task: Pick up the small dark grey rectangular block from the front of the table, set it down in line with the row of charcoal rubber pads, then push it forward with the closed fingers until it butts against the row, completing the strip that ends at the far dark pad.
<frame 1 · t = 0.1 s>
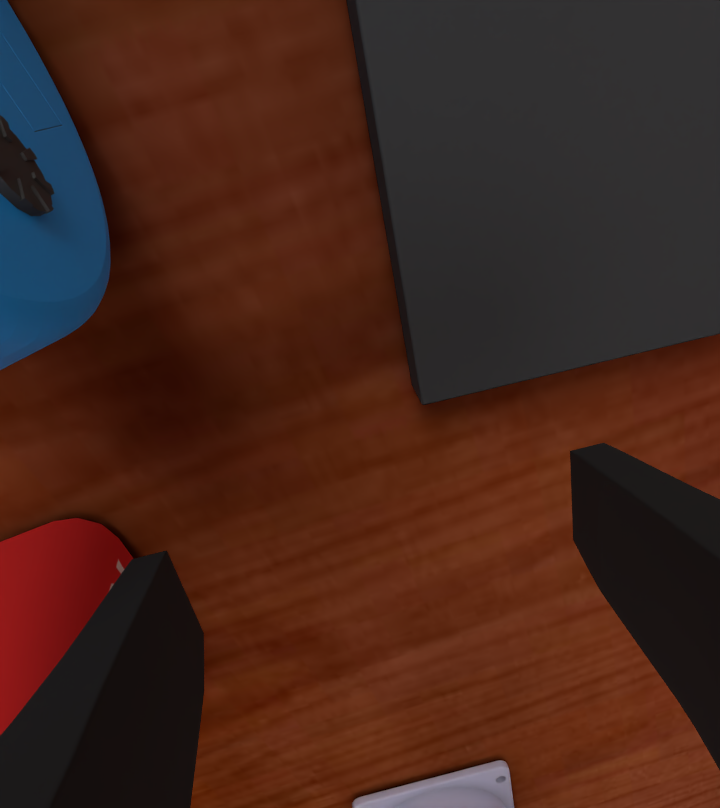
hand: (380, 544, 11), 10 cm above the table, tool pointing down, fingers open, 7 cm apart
base pad: (559, 91, 18), on the table
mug: (27, 579, 23), on the table
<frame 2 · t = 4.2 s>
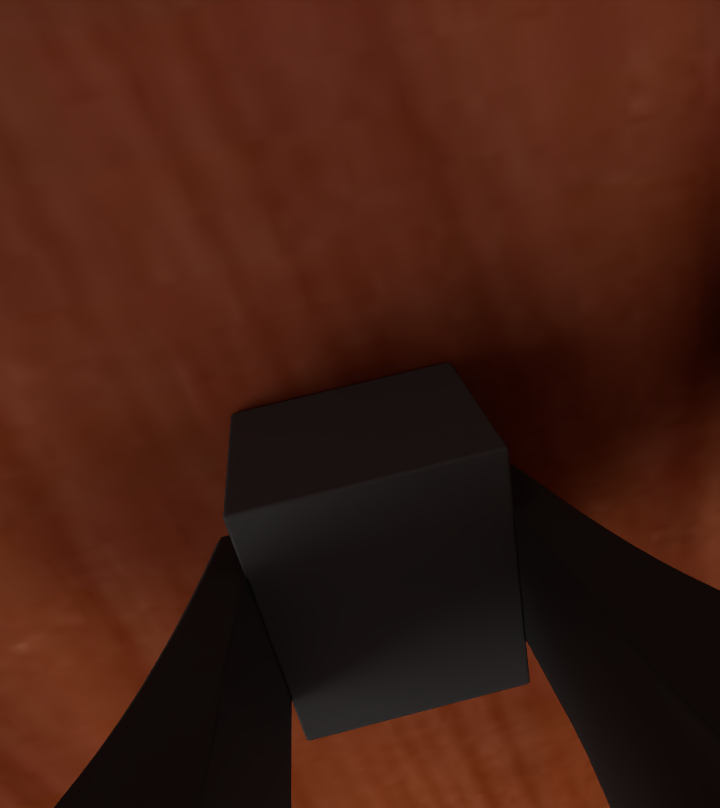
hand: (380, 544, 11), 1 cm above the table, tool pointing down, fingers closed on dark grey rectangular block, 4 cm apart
dark grey rectangular block: (366, 497, 12), on the table, touching gripper
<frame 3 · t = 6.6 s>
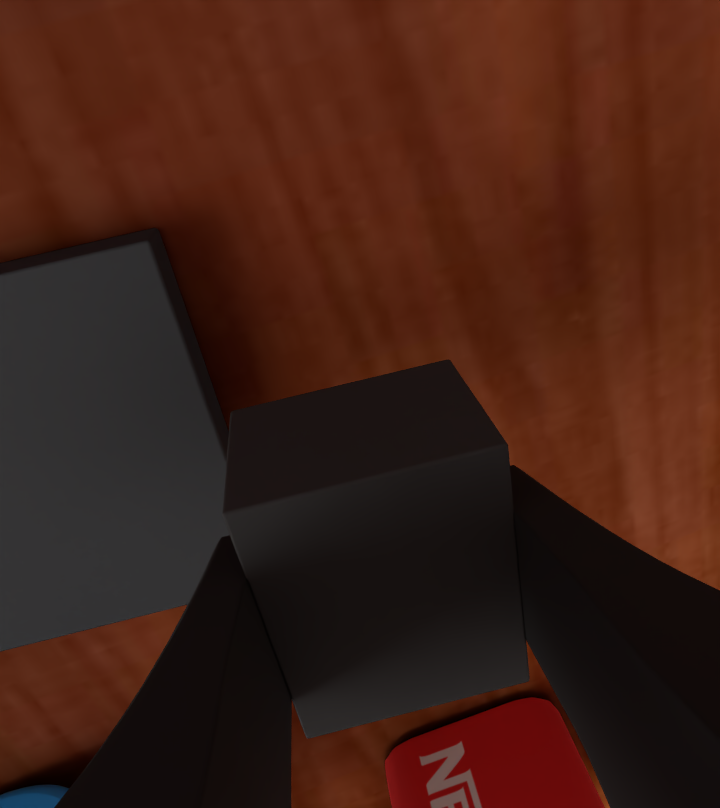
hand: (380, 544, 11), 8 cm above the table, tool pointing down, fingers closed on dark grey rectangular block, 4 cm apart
dark grey rectangular block: (366, 495, 12), point 7 cm above the table, touching gripper
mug: (443, 777, 28), on the table
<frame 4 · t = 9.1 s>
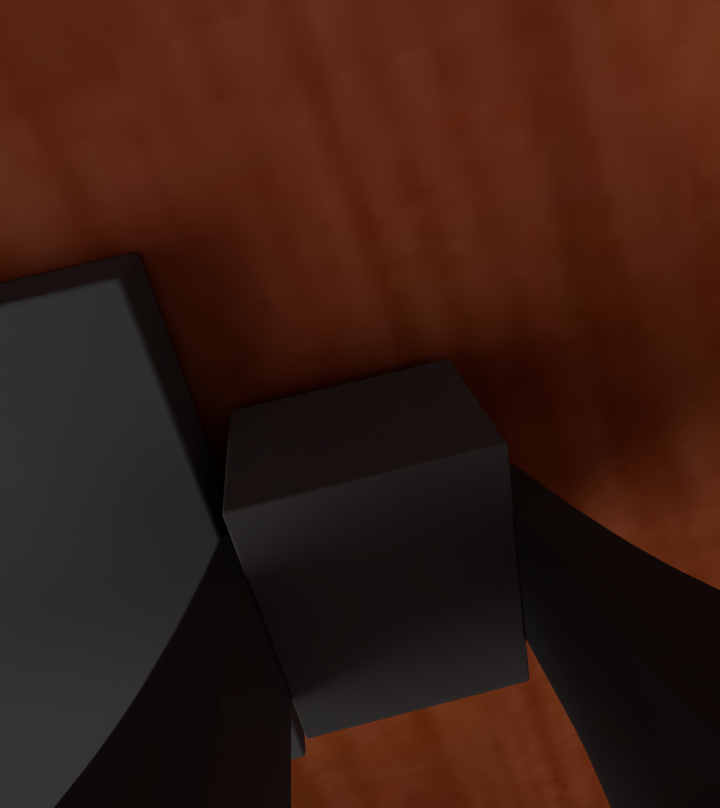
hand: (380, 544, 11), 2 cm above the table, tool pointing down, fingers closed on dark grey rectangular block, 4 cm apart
dark grey rectangular block: (366, 495, 12), on the table, touching gripper
when the fingers open (2 cm above the table, at t = 13.0 s): dark grey rectangular block stays where it is, on the table.
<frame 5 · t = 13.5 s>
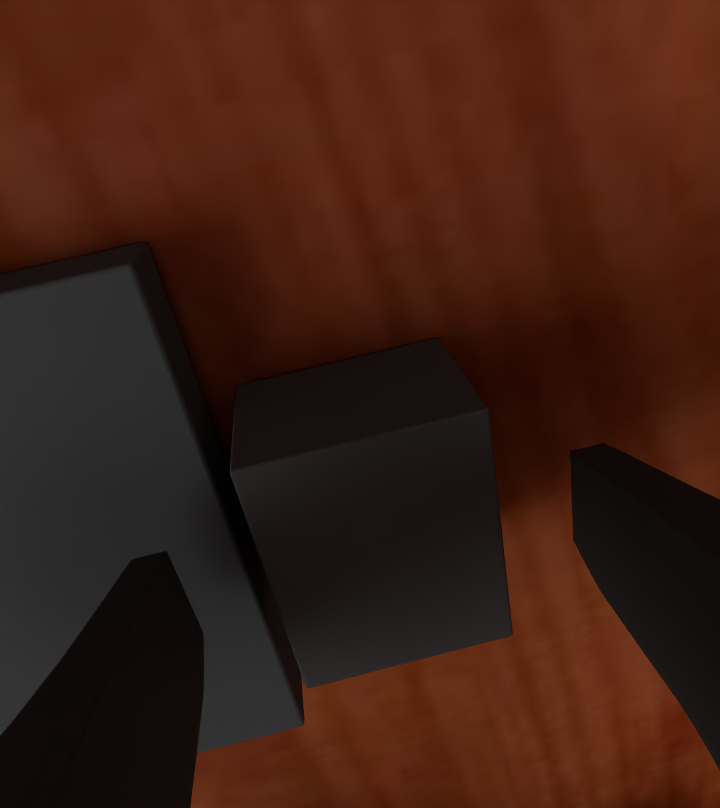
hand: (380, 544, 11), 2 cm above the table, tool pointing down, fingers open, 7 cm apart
dark grey rectangular block: (361, 467, 13), on the table
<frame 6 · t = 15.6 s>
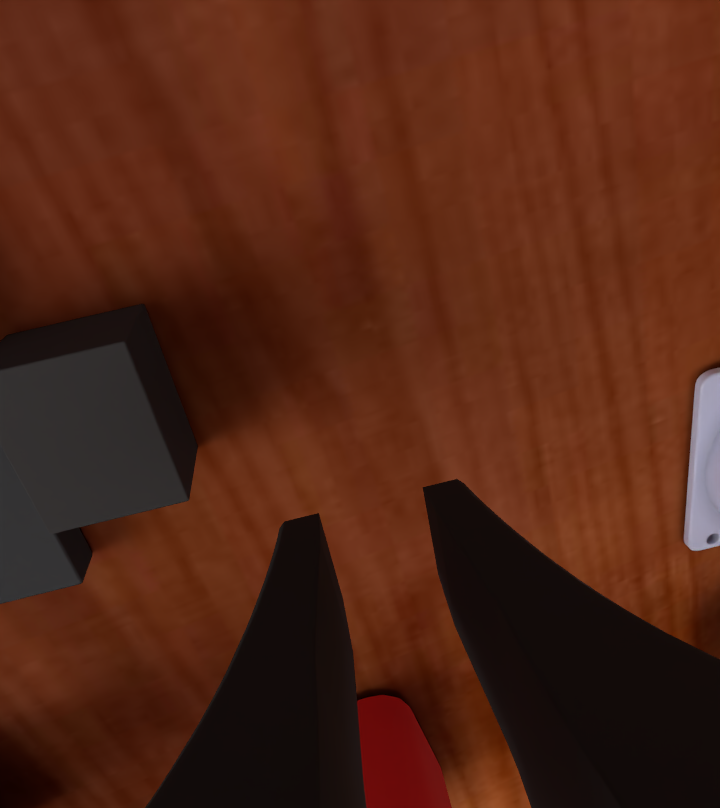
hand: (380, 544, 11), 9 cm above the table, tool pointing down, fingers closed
dark grey rectangular block: (108, 394, 19), on the table
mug: (306, 774, 29), on the table
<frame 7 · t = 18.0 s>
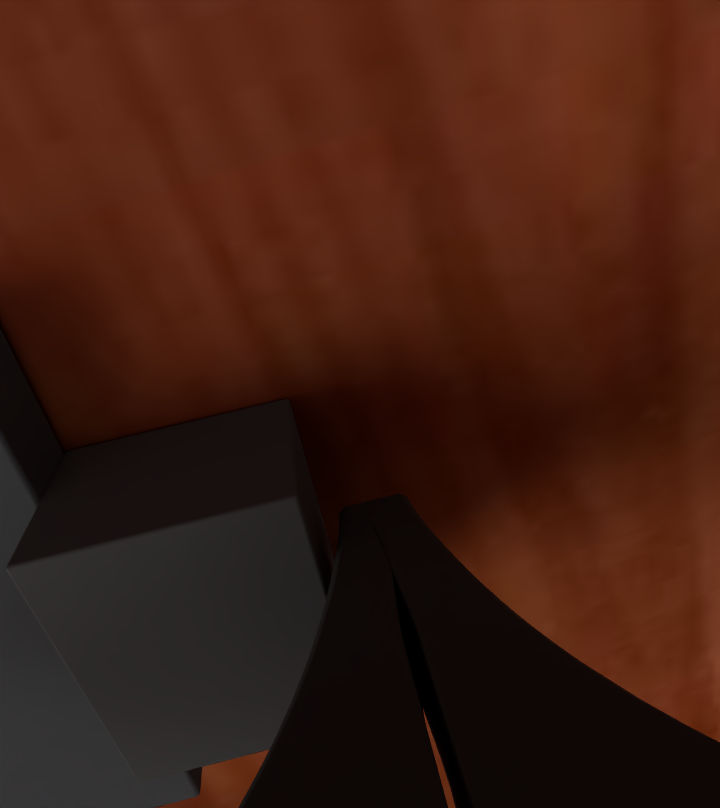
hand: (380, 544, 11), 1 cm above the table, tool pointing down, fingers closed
dark grey rectangular block: (219, 532, 12), on the table, touching base pad, gripper
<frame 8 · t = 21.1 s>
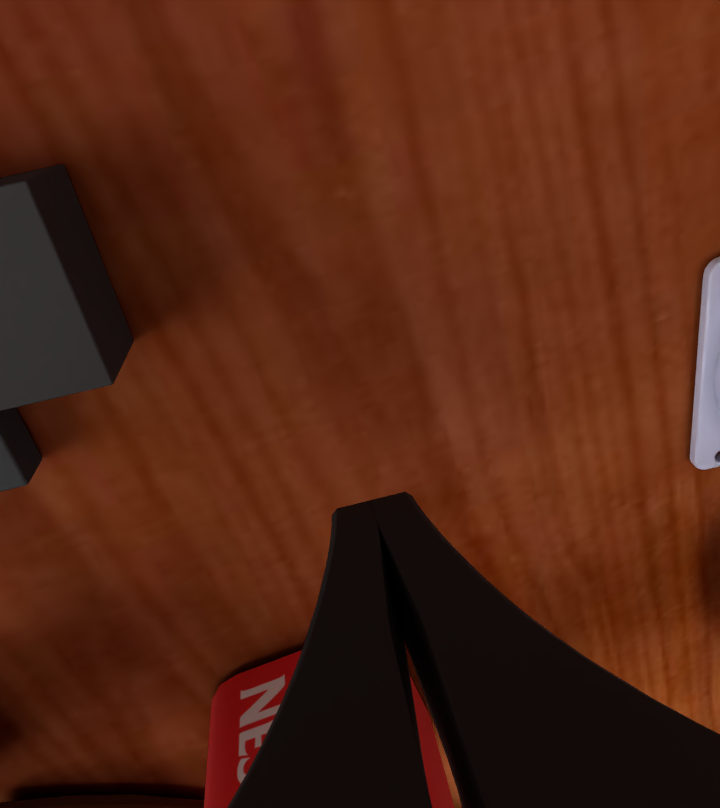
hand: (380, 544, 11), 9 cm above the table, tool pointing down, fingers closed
gun: (395, 801, 29), point 1 cm above the table
dark grey rectangular block: (29, 274, 17), on the table, touching base pad
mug: (284, 720, 27), on the table
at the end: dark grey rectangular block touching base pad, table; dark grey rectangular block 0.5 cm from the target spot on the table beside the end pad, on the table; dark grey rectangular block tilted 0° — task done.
